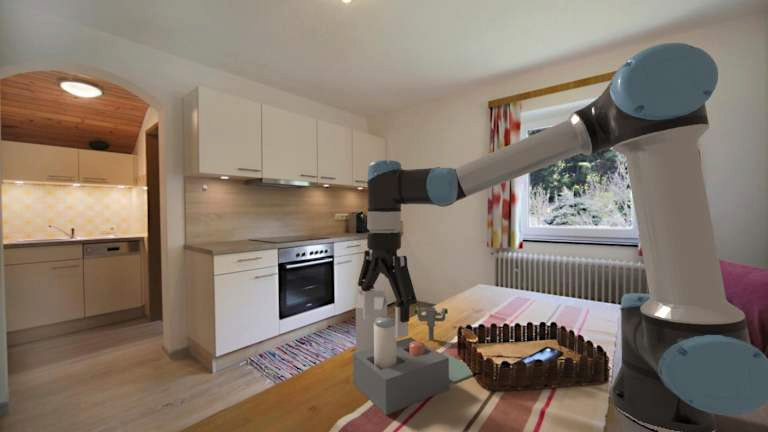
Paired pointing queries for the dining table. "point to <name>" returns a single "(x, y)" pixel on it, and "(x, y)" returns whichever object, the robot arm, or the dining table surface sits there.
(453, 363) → the mat
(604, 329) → the dining table surface
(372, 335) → the milk carton
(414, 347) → the pink egg shape
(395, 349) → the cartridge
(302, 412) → the dining table surface
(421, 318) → the mechanical component
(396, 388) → the housing
